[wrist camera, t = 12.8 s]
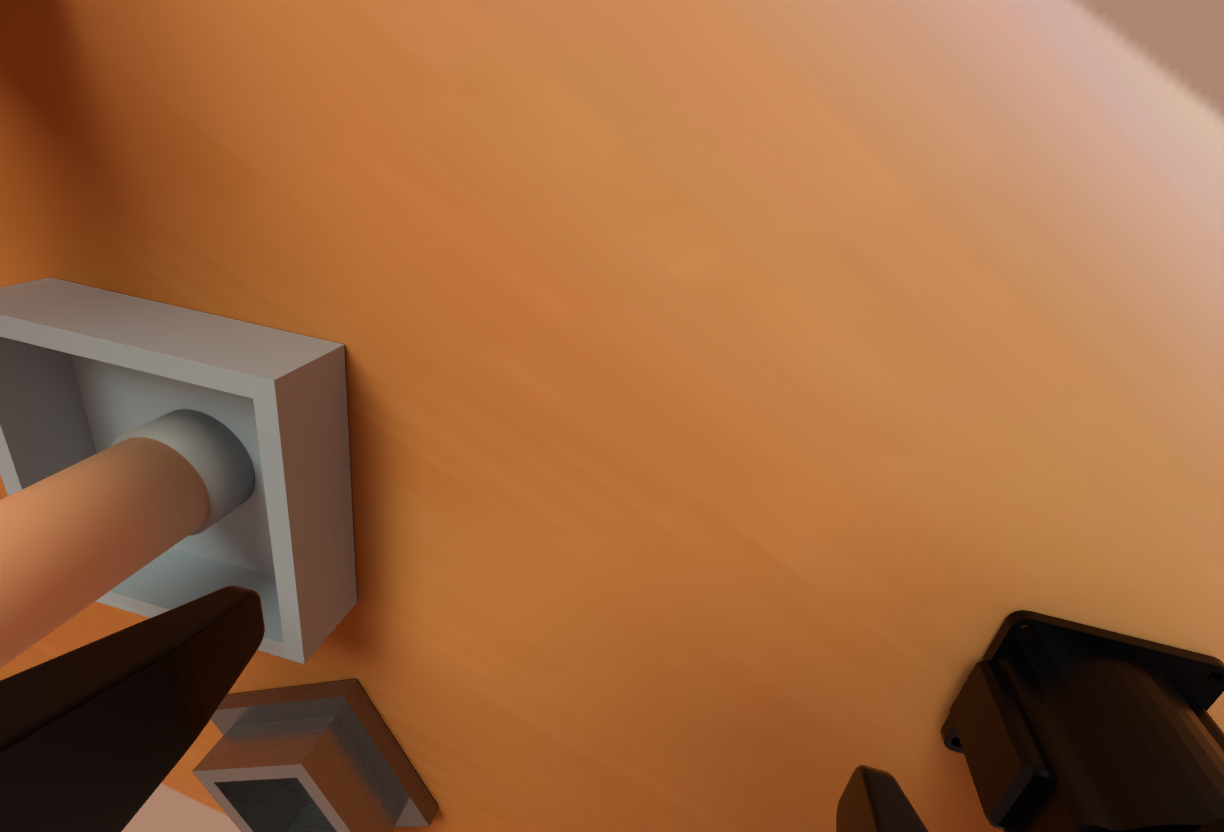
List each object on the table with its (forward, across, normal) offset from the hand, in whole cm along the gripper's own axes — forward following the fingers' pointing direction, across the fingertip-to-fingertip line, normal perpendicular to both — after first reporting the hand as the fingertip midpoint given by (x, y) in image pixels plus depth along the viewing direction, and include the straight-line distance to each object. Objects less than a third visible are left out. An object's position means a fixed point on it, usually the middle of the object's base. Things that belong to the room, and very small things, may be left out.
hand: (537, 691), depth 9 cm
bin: (+12, +17, +7) cm, 22 cm away
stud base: (+12, +13, +24) cm, 30 cm away
